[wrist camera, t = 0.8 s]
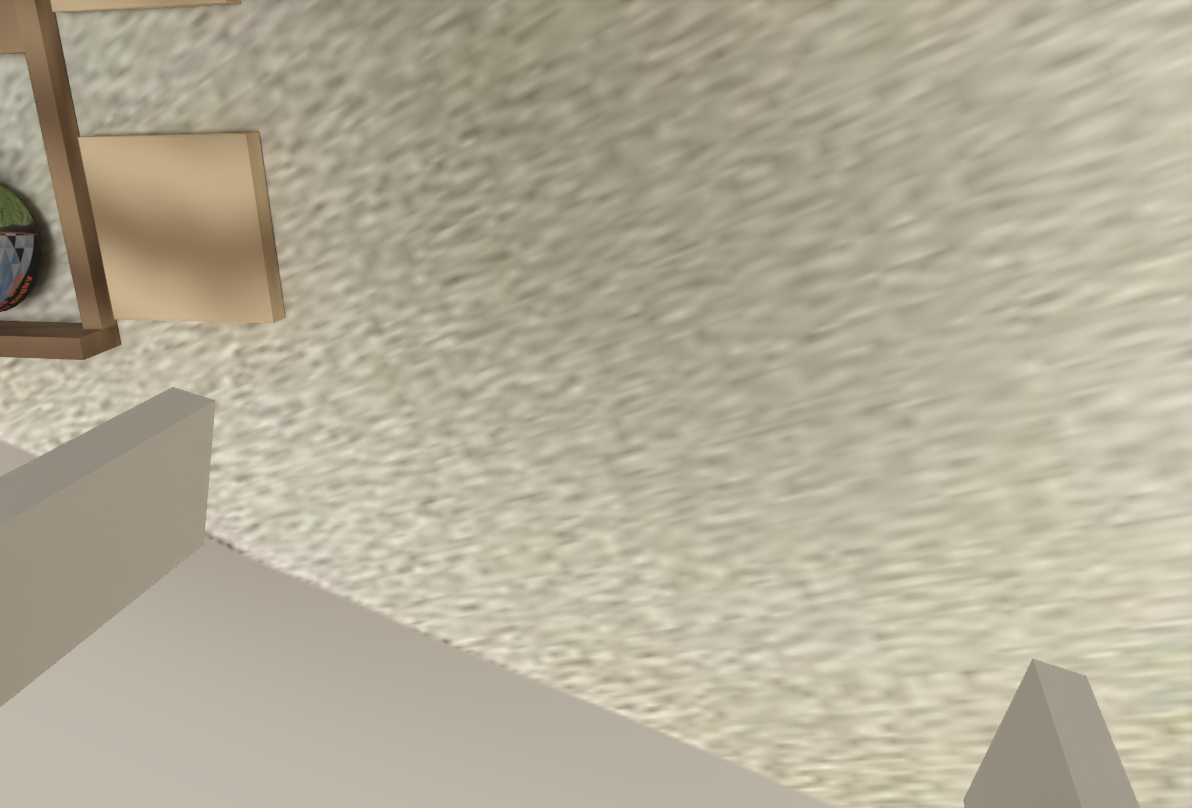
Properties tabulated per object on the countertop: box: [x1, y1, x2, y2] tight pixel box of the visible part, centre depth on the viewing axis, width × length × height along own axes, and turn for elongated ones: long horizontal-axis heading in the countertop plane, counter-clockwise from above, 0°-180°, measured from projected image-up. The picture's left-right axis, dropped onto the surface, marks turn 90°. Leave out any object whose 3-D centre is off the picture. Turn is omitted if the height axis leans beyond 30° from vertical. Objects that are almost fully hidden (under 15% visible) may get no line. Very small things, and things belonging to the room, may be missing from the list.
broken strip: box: [50, 0, 285, 323], centre depth 37 cm, size 21×8×10 cm, turn 2°
